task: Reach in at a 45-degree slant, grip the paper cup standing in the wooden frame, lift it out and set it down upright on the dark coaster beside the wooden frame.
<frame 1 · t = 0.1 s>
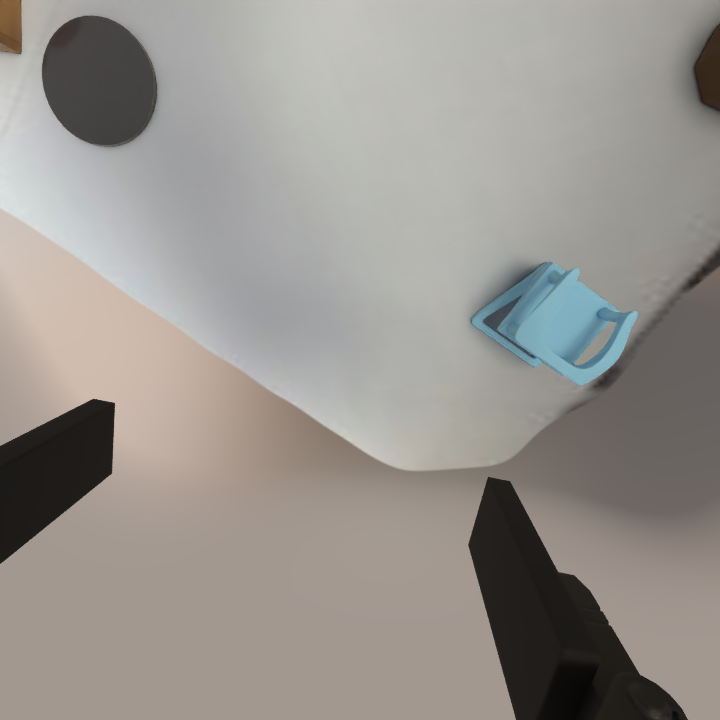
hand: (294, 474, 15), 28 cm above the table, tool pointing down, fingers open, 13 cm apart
coaster: (101, 84, 38), on the table
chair: (528, 308, 41), on the table
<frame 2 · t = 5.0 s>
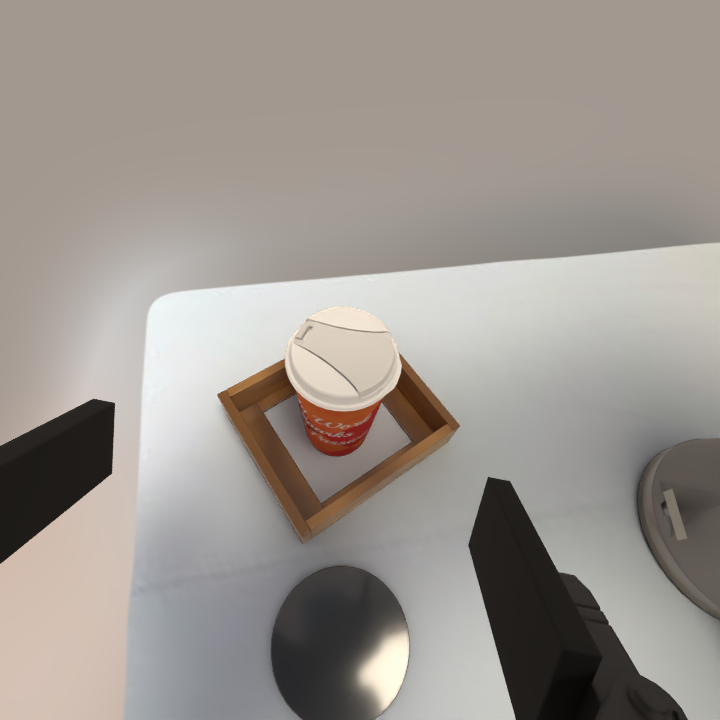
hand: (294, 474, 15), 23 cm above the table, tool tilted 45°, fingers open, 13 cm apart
wooden frame: (337, 427, 40), on the table
coaster: (340, 642, 32), on the table
paper cup: (337, 428, 40), resting in wooden frame
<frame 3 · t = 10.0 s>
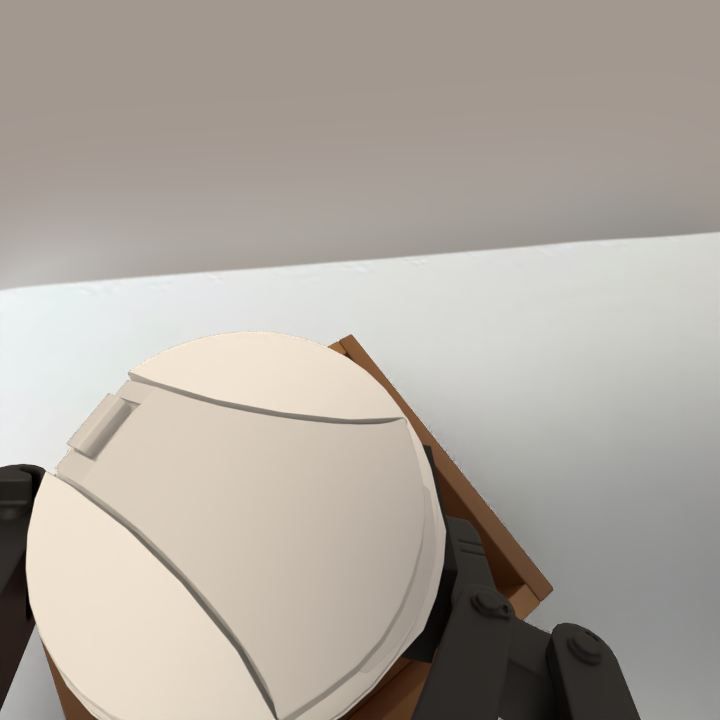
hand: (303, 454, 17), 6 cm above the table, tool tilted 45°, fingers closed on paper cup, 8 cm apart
wooden frame: (288, 565, 20), on the table
paper cup: (288, 565, 20), resting in wooden frame, touching gripper
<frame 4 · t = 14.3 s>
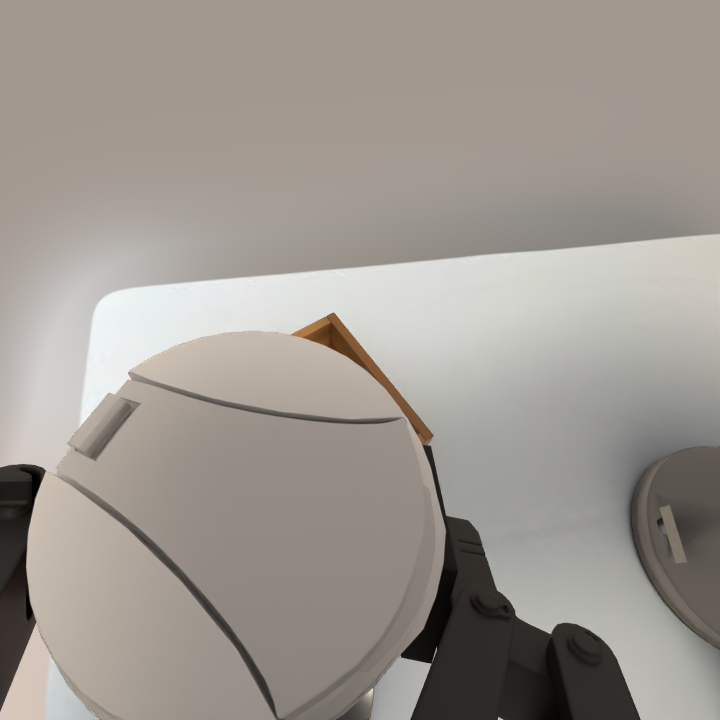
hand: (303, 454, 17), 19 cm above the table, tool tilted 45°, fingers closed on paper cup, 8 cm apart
wooden frame: (300, 437, 36), on the table
coaster: (295, 685, 28), on the table
paper cup: (288, 565, 20), point 13 cm above the table, touching gripper
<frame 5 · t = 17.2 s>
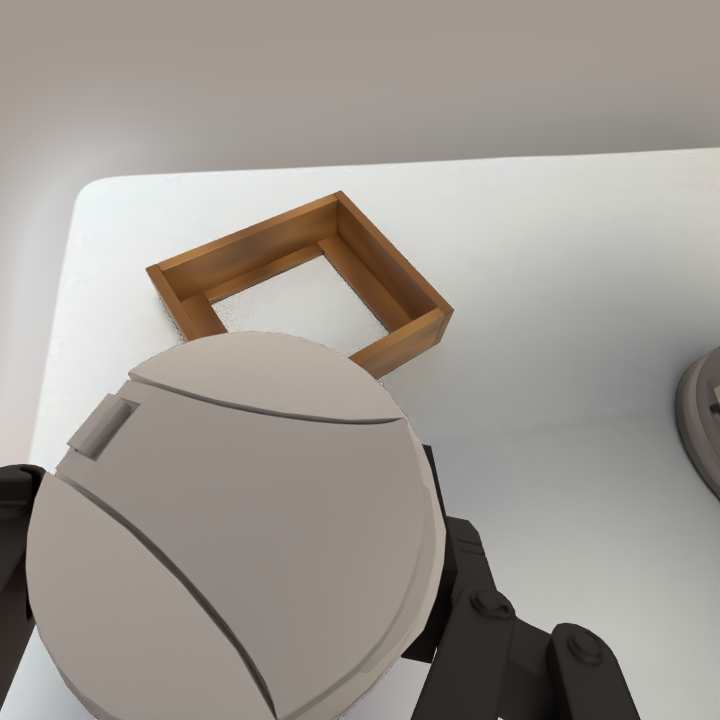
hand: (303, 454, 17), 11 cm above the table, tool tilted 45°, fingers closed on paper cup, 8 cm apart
wooden frame: (302, 323, 32), on the table
paper cup: (288, 565, 20), point 5 cm above the table, touching gripper
when the fingers open (6 cm above the table, at t = 19.0 s): paper cup stays where it is, resting on coaster.
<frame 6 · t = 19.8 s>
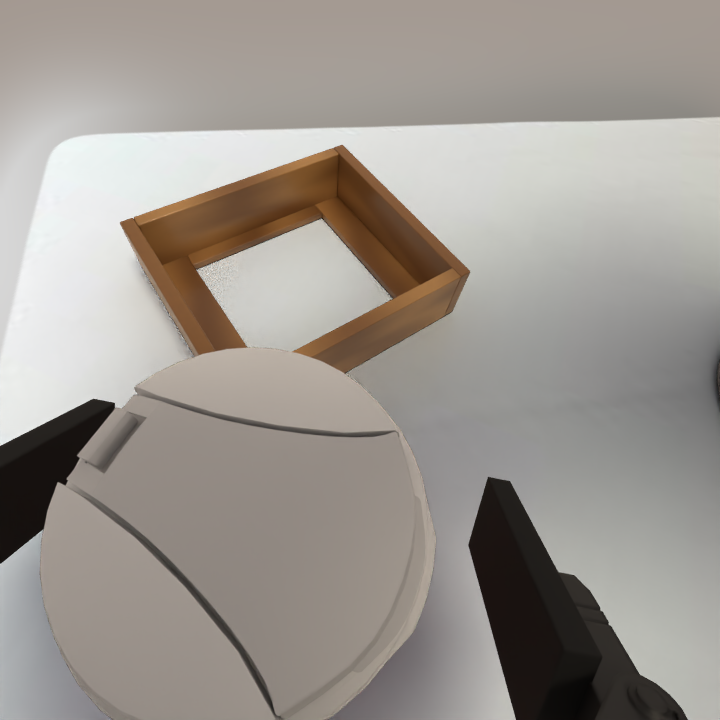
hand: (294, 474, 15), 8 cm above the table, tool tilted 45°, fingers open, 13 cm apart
wooden frame: (299, 290, 29), on the table
paper cup: (287, 568, 20), resting on coaster
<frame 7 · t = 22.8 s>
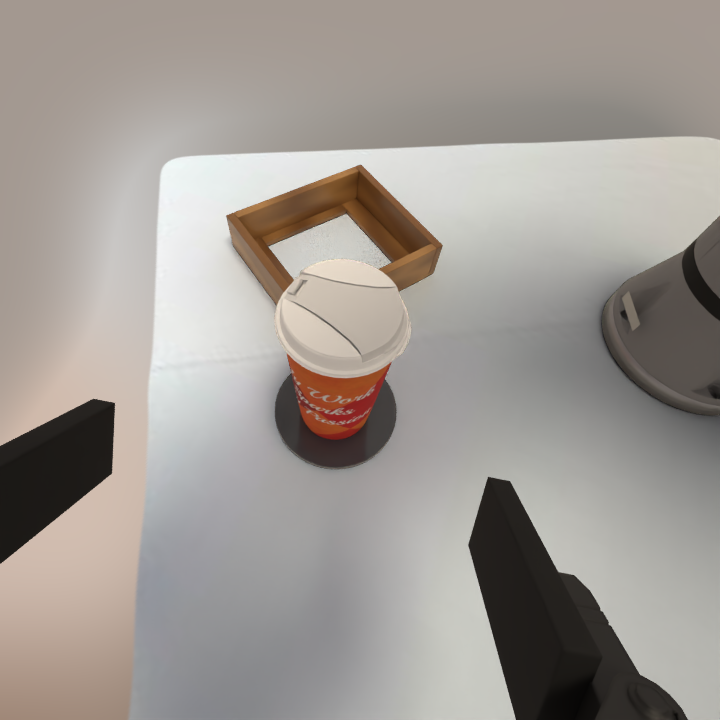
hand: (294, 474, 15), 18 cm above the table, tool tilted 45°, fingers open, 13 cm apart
wooden frame: (333, 259, 45), on the table
coaster: (336, 410, 36), on the table
paper cup: (335, 409, 36), resting on coaster
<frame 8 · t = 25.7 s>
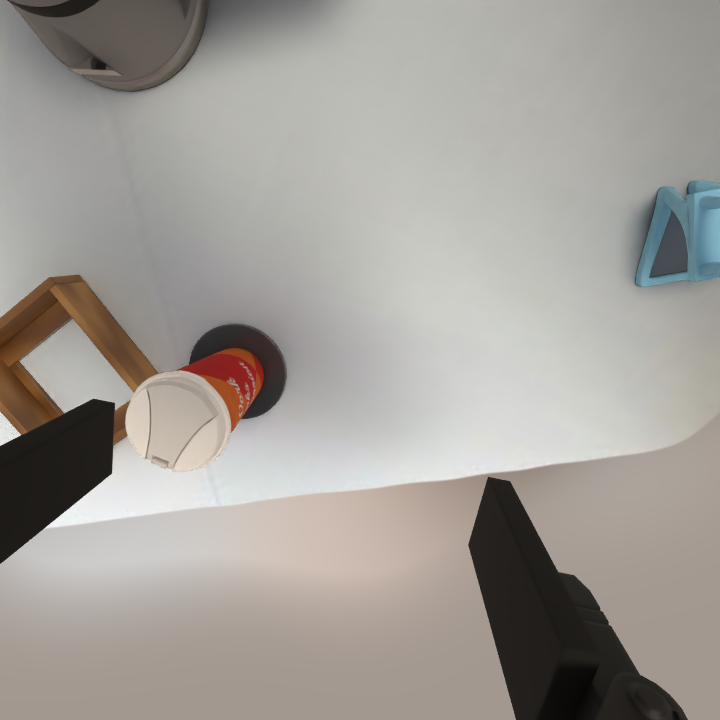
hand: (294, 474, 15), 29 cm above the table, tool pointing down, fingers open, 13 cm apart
wooden frame: (83, 373, 46), on the table
coaster: (238, 371, 45), on the table
paper cup: (238, 373, 44), resting on coaster
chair: (677, 232, 39), on the table
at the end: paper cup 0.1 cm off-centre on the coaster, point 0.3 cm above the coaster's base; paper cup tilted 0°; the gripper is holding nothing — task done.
